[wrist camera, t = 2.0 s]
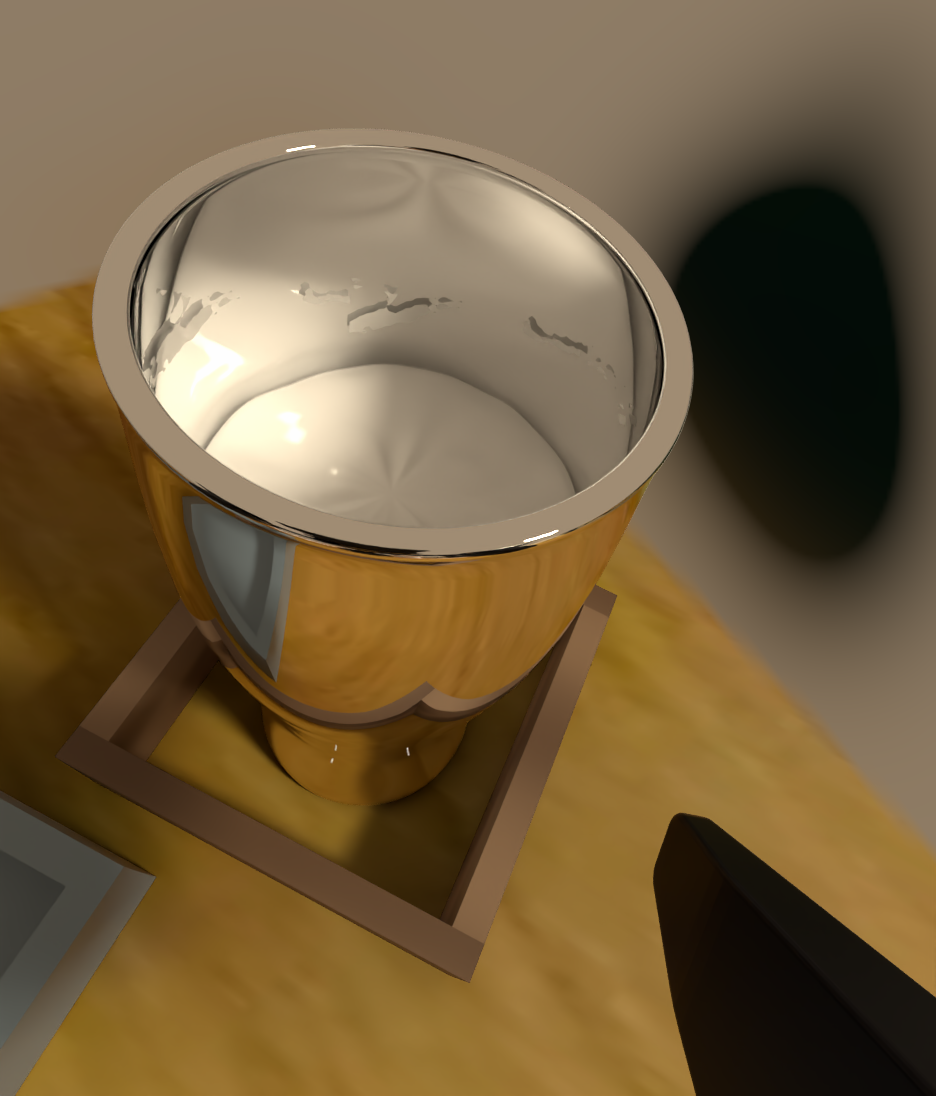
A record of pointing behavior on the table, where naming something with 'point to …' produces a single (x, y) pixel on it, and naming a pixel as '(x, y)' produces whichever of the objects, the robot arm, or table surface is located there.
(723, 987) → the robot arm
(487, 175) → the silver metal cup
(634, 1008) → the table surface
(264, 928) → the table surface
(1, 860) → the tray
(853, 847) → the table surface
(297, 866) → the rectangular frame
